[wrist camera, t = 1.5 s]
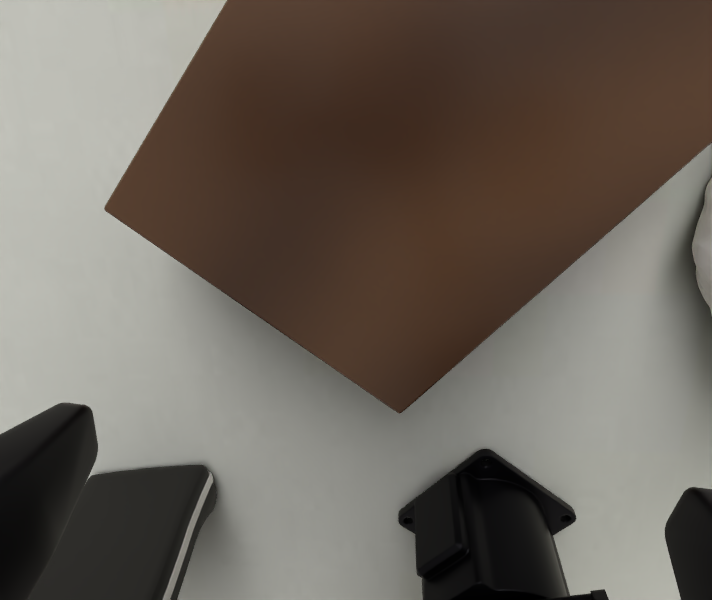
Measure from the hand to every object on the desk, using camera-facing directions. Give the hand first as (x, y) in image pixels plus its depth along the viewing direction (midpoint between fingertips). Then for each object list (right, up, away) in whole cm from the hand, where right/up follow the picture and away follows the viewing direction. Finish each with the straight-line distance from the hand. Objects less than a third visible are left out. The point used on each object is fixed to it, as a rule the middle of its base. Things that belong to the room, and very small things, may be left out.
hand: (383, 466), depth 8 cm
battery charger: (-11, -7, +21) cm, 25 cm away
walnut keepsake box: (+2, +10, +10) cm, 14 cm away
